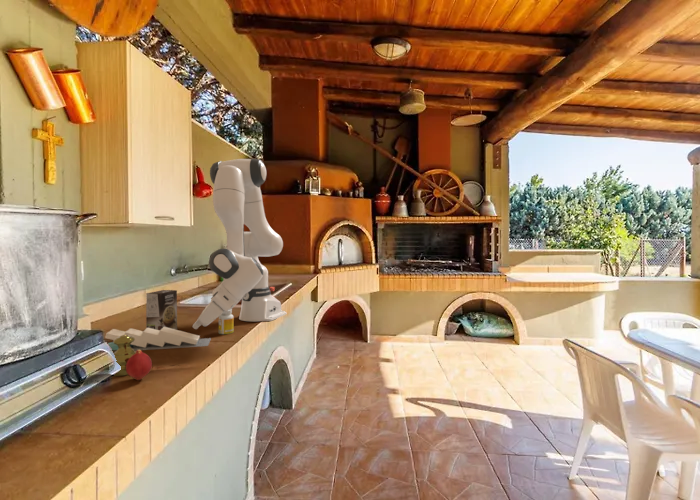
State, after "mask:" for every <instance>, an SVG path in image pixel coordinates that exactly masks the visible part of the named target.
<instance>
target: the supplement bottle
mask: <svg viewBox="0 0 700 500" xmlns="http://www.w3.org/2000/svg"><path fill="white" fill-rule="evenodd" d="M232 313H233V308H232V309H231V310H228V311H227V312H225V311H224V312H223V313H222V314H221V315H220V316H219V317H218V334H219V335H230V334H233V333H234V332H235V331H234V325H235V324H234V321H235V319H234V317H235V316H234V315H233V314H232Z"/></svg>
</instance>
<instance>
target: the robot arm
mask: <svg viewBox="0 0 700 500" xmlns="http://www.w3.org/2000/svg"><path fill="white" fill-rule="evenodd" d="M210 166H211V167H210V168H209V177H210V180H211V182H212V184H213V194H212V203H213V210H214V213H215V214H216V216H217V218H219V220H220V222H221V223H222V225H223V227H224V229H225V233H226V248H219V249H217V250H215V251H214V252H212V254H211V255H210V257H209V261H208V265H209V268H210V270H211V271H212V272H213V273H214V274H215V275H217V276H219V277H220V278H222V279H223V280H222V282H221V283H220V284H218V285H217V286H216V288H214V289H213V291H211V297H210V302H209V303H208V304H207V305H206V306H205V308H204V309H203V310H202V312H201V313H200V315H199V316H198V317H197V318H196V319H197V320H196V321H195V322H194V323H193V324H192V328H193V329H194V330H198V329H199V327H201V326H203V327H208V326H209V325H210V324H212V323H213V322H215V320H217V319H219V316H220V315H221V314H222V313H223V312H224V311H225V312H227V311H228V310H231V309H232V310H233V308H234V307H236V305H238V303H239V302H241V306H240V313H239V317H238V319H239V320H240V321H243V322H272V321H274V320H276V319H279V318H281V317H284V316H285V315H287V312H286V311H285V310H282V303H281V301H280V300H279V299H277V298H276V297H275V296H273V294H272V293H271V292H275V286H270V287H269V270H268V269H267V267H266V266H265V265H263V264H262V263H261V261H260V260H259V257H265V258H266V257H273V256H278V255H280V253H281V252H282V250H283V247H284V241H283V238H282V237H281V235H280V234H278V232H276V231H275V230H274V229H273V228H272V227H271V226H270V224H269V222H268V220H267V218H266V213H265V207H264V202H263V201H264V200H263V194H262V190H261V186H262V185H263V184H264V183H265V181H266V180H267V168H266V165H265V163H264V162H263V160H261V159H259V158H237V159H236V158H235V159H231V160H230V159H229V160H225V161H222V160H219V161H216V162H214V163H212V165H210ZM244 226H246V227H247V228H248V229H249V231H245V227H244Z"/></svg>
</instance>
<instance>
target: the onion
mask: <svg viewBox="0 0 700 500" xmlns="http://www.w3.org/2000/svg"><path fill="white" fill-rule="evenodd" d="M152 362H153V361H152V359H151V357H150V356H149V355H148V354H147V353H145V352H143V350H137V351H136V353H135V354H134V355H132V356H131V357H130V358H129V360H128V361H127V364H126V372H127V373H128V375H127V376H130V377H131V378H133V379H135V380H136V381H141V380H142V379H144V378H145V377H146V376H147V375H148V374H150V372H151V370H152V366H153V363H152Z"/></svg>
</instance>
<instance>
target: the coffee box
mask: <svg viewBox="0 0 700 500" xmlns="http://www.w3.org/2000/svg"><path fill="white" fill-rule="evenodd" d="M145 294H146V295H145V297H146V301H145V302H146V303H145V305H146V309H145V310H146V313H145V314H146V315H145V317H146V320H145V321H146V322H145V323H146V325H145V326H146V328H152V329H156V330H161V329H162V328H163V327H167V328H171V329H175V330H178V290H173V289H165V290H164V289H162V290H156V291H151V292H147V293H145ZM146 328H145V329H146Z"/></svg>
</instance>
